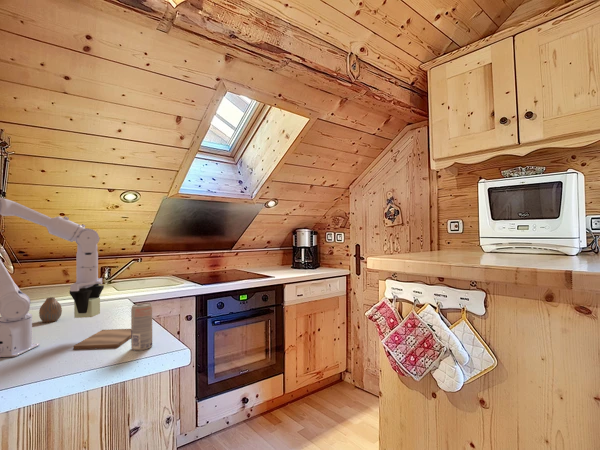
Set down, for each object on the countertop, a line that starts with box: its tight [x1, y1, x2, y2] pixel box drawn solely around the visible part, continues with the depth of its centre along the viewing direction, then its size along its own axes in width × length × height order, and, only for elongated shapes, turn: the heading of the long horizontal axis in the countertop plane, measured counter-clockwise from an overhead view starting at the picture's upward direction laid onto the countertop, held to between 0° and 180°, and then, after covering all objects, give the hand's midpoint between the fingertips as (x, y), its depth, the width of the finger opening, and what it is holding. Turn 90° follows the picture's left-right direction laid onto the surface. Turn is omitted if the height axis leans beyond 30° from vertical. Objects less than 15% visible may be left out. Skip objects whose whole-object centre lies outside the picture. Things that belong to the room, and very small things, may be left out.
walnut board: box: [72, 328, 131, 350], centre depth 103 cm, size 16×12×1 cm
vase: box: [38, 296, 63, 323], centre depth 127 cm, size 7×7×9 cm
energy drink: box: [130, 302, 153, 352], centre depth 95 cm, size 5×5×12 cm
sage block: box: [73, 297, 101, 319], centre depth 105 cm, size 5×5×5 cm
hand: (87, 310), depth 105 cm, fingers closed on sage block, 5 cm apart
